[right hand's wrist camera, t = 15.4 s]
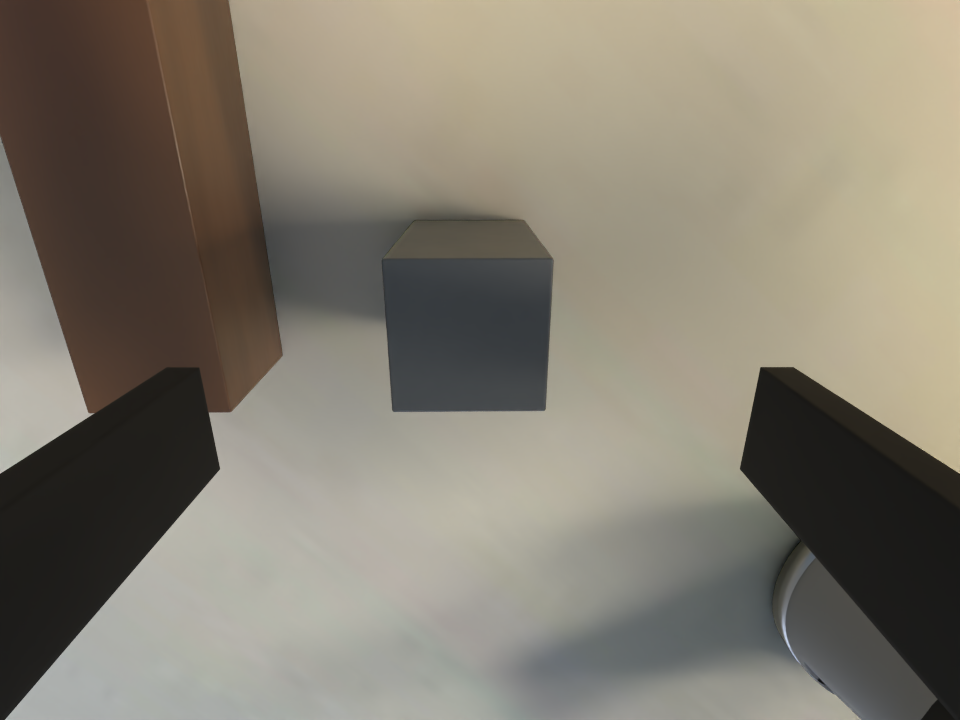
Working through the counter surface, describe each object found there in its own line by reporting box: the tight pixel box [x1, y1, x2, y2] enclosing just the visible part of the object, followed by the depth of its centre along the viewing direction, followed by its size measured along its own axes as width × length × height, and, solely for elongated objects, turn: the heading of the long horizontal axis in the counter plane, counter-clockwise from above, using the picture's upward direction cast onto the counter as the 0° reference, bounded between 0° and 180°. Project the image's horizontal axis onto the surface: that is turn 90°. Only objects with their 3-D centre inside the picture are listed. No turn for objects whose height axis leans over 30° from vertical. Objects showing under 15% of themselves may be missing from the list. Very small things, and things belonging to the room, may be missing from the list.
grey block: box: [382, 220, 554, 412], centre depth 20 cm, size 5×5×9 cm
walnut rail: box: [0, 0, 283, 413], centre depth 18 cm, size 6×26×6 cm, turn 0°
